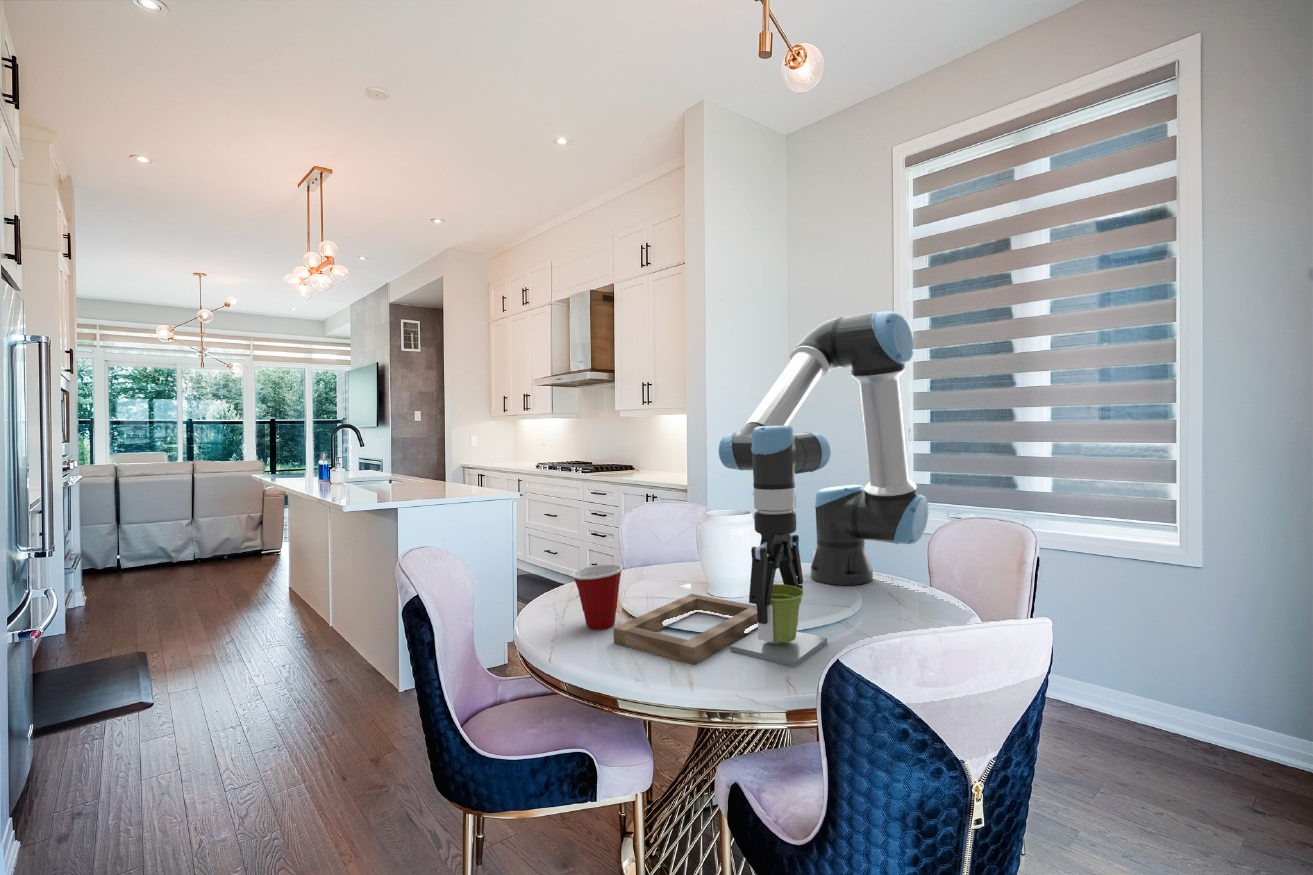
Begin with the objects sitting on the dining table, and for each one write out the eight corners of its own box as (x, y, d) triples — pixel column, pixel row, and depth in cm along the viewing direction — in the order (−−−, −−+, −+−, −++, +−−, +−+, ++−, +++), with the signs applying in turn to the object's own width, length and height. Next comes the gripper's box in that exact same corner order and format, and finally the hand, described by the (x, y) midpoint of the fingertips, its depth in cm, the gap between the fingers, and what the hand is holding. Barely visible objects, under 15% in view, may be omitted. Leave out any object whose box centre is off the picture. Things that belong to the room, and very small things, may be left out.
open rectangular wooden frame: (692, 606, 145) (691, 593, 144) (767, 621, 133) (767, 607, 133) (613, 643, 124) (613, 627, 124) (694, 664, 112) (693, 647, 112)
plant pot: (815, 635, 119) (813, 589, 118) (786, 651, 112) (785, 602, 112) (772, 625, 125) (771, 581, 125) (743, 639, 119) (741, 592, 118)
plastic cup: (583, 616, 141) (580, 561, 141) (631, 617, 139) (628, 562, 139) (566, 633, 131) (563, 575, 130) (617, 635, 128) (614, 575, 128)
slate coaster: (765, 630, 128) (765, 625, 128) (827, 643, 120) (827, 637, 120) (730, 651, 118) (730, 645, 118) (795, 666, 110) (795, 661, 110)
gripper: (784, 501, 128) (787, 612, 129) (725, 518, 112) (729, 646, 113) (819, 503, 124) (822, 619, 125) (763, 521, 107) (767, 655, 108)
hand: (778, 632), depth 119 cm, fingers closed on plant pot, 9 cm apart
